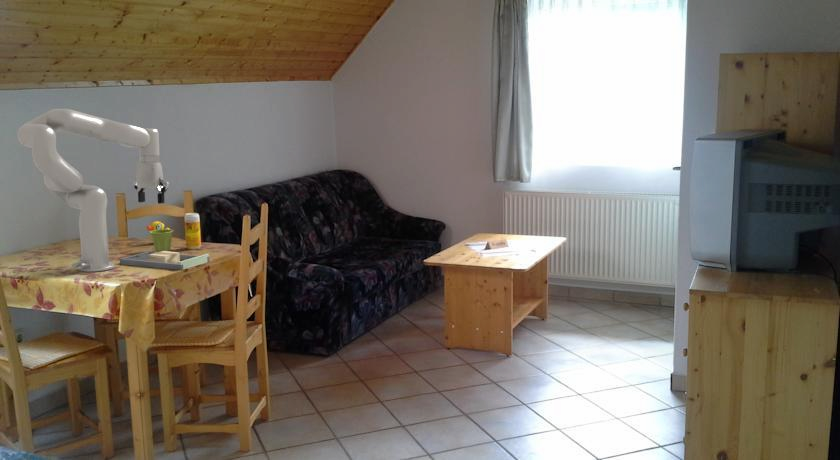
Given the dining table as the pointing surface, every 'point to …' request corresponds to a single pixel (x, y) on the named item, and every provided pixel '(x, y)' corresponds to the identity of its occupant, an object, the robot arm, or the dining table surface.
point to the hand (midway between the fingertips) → (151, 202)
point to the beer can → (192, 231)
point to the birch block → (165, 257)
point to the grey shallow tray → (141, 261)
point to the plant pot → (162, 239)
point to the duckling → (156, 227)
